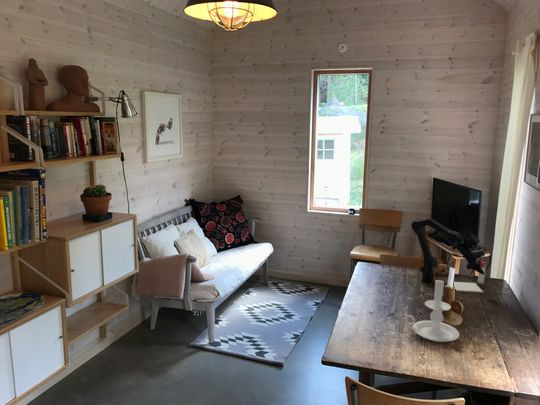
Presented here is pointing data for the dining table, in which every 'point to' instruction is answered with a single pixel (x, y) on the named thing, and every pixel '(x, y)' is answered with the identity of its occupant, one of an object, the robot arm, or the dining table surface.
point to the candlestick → (435, 319)
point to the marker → (481, 276)
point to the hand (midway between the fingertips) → (484, 273)
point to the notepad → (467, 287)
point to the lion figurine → (442, 266)
